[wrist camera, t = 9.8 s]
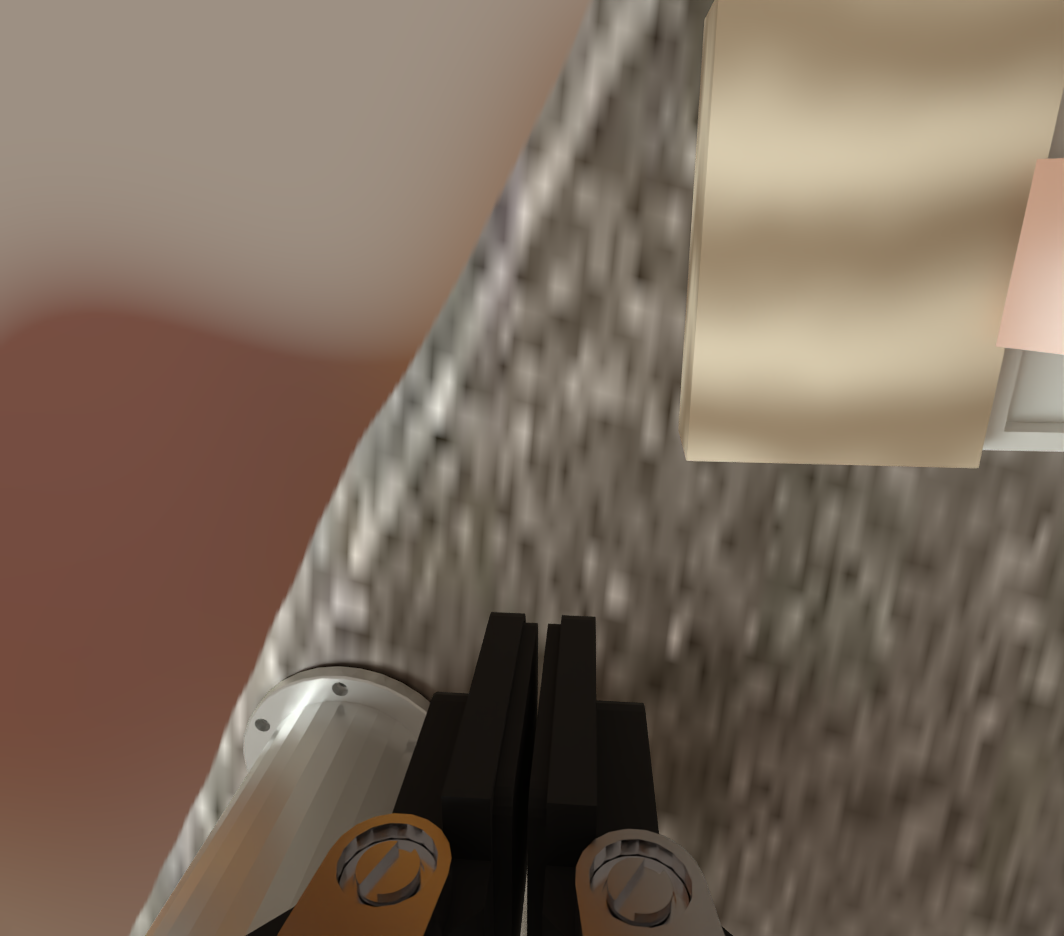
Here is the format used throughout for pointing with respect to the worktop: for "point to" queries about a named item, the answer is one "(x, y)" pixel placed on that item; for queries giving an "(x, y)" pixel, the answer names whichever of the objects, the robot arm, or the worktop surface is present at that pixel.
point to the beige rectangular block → (859, 224)
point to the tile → (1038, 268)
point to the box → (1030, 383)
